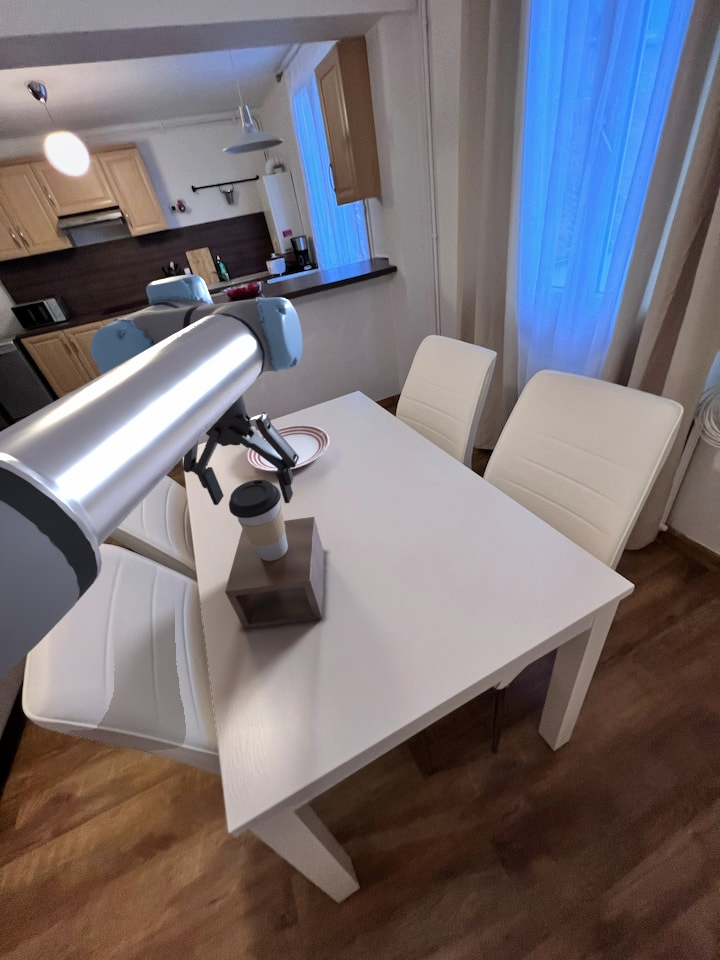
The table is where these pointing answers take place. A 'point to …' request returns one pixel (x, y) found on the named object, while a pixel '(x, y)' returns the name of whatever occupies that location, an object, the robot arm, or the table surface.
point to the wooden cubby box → (279, 579)
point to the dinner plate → (296, 446)
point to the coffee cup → (261, 517)
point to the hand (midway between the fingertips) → (253, 499)
